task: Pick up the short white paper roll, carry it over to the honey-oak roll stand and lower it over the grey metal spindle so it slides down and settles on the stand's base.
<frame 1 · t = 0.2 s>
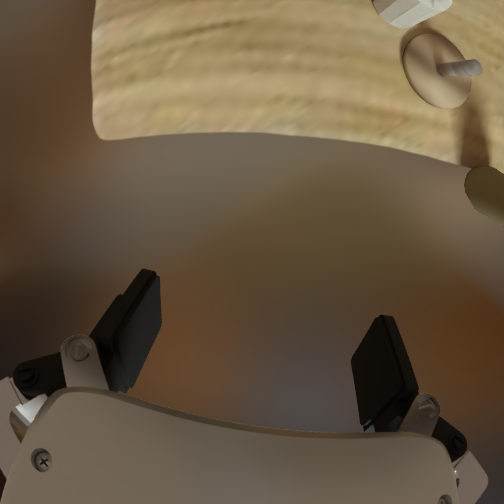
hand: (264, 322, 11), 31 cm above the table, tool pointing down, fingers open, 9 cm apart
roll stand: (436, 70, 27), on the table
paper roll: (395, 8, 23), on the table
squeeze bottle: (475, 183, 35), on the table
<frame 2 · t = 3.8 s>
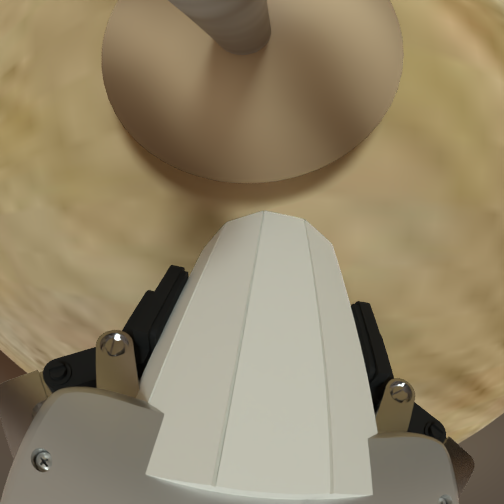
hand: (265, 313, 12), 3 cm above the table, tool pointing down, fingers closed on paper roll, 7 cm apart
roll stand: (247, 40, 9), on the table
paper roll: (269, 277, 14), on the table, touching gripper
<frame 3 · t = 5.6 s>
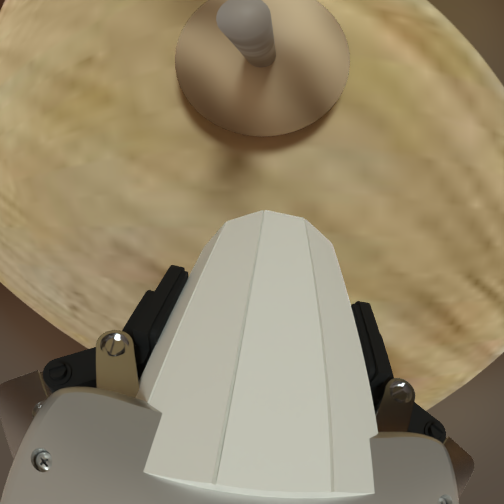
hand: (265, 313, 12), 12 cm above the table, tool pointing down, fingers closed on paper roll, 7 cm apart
roll stand: (262, 57, 16), on the table
paper roll: (269, 277, 14), point 9 cm above the table, touching gripper
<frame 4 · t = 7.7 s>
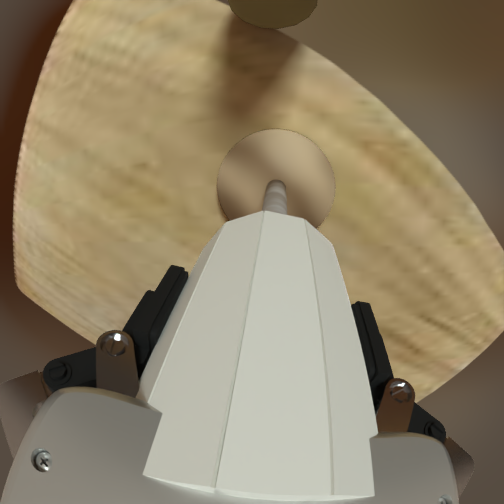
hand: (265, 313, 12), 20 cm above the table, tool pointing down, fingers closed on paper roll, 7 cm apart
roll stand: (276, 185, 29), on the table
paper roll: (269, 277, 14), point 17 cm above the table, touching gripper
squeeze bottle: (273, 6, 19), on the table
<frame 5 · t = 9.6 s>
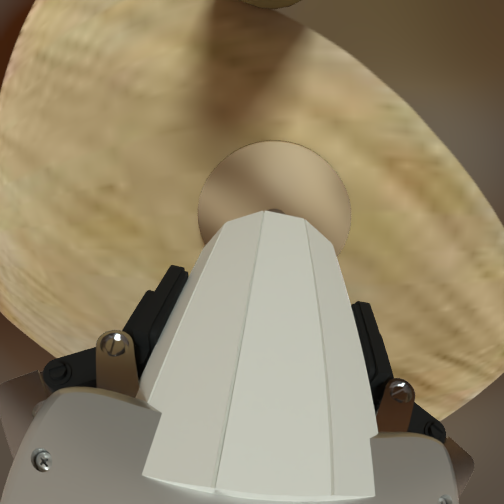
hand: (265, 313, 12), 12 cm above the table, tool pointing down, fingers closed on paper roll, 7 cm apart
roll stand: (274, 213, 23), on the table
paper roll: (269, 277, 14), point 10 cm above the table, touching gripper
when the fingers open (7 cm above the table, at t = 11.5 s): paper roll drops 2 cm, resting on roll stand.
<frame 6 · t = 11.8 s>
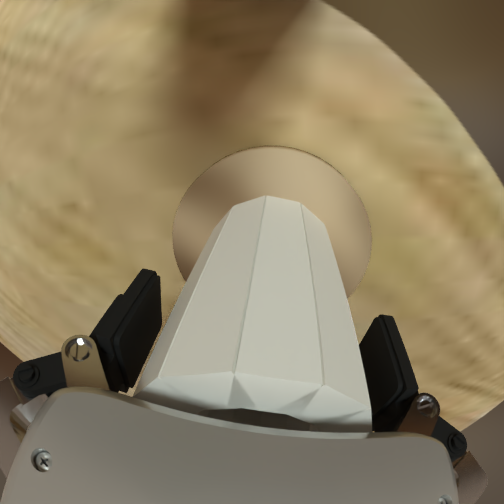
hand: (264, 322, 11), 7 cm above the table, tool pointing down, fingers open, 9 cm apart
roll stand: (272, 241, 18), on the table
paper roll: (270, 254, 16), point 1 cm above the table, touching roll stand
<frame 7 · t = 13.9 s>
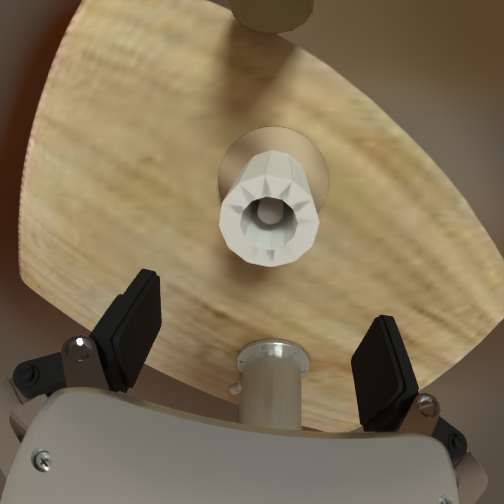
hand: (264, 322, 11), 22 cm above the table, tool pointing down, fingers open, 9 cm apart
roll stand: (274, 178, 31), on the table
paper roll: (273, 183, 29), point 1 cm above the table, touching roll stand
squeeze bottle: (272, 11, 21), on the table
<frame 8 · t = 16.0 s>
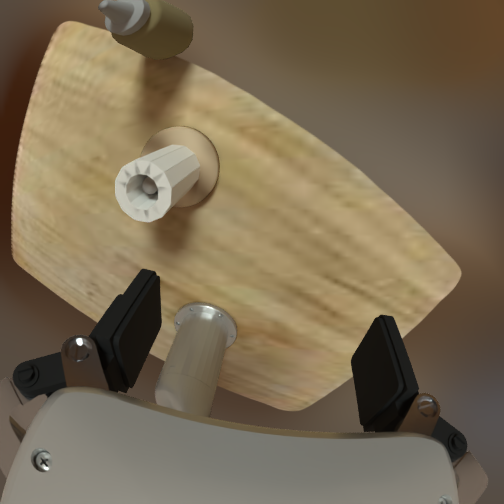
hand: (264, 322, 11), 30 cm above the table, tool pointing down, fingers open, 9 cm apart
roll stand: (179, 165, 39), on the table
paper roll: (176, 168, 38), point 1 cm above the table, touching roll stand
squeeze bottle: (174, 38, 29), on the table
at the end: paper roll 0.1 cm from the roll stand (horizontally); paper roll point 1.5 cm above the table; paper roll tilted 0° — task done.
